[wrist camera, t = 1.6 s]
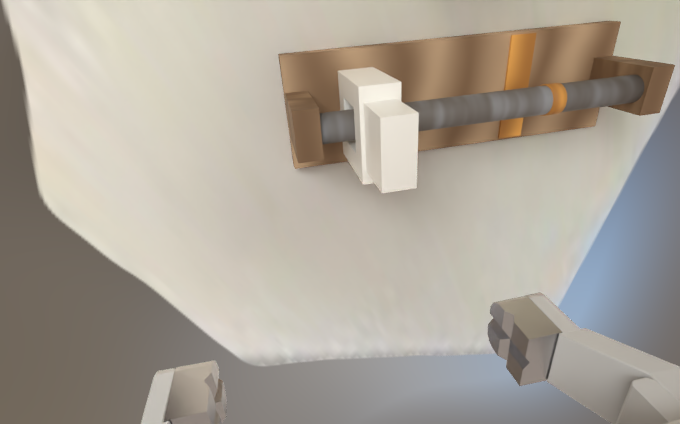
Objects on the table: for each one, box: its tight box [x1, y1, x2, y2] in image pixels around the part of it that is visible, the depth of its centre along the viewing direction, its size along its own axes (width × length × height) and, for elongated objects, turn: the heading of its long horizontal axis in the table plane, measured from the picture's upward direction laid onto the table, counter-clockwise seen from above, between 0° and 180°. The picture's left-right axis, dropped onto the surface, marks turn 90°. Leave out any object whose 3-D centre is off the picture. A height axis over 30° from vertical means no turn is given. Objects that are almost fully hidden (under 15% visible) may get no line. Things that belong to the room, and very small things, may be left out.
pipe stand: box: [278, 21, 675, 169], centre depth 35 cm, size 32×10×8 cm, turn 94°
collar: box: [338, 67, 419, 193], centre depth 29 cm, size 3×7×11 cm, turn 4°
